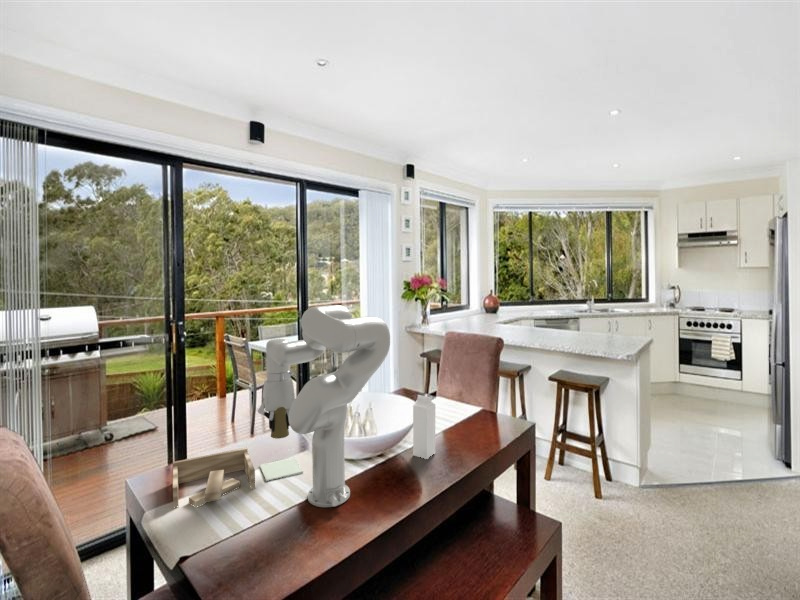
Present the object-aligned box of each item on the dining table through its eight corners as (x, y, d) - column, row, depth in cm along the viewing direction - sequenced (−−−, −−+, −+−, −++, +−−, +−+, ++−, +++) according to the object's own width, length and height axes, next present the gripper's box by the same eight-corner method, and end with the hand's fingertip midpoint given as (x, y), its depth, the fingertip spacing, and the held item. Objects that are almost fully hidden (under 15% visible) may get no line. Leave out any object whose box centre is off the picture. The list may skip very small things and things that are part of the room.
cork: (283, 439, 136) (283, 406, 135) (267, 437, 137) (266, 405, 137) (292, 432, 142) (291, 401, 141) (276, 430, 143) (275, 400, 143)
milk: (422, 449, 156) (422, 392, 154) (435, 454, 152) (435, 395, 151) (412, 455, 151) (412, 396, 149) (426, 459, 147) (426, 399, 146)
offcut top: (224, 477, 132) (223, 469, 132) (220, 499, 119) (219, 491, 119) (210, 479, 131) (210, 471, 131) (205, 502, 117) (204, 493, 117)
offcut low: (240, 489, 129) (239, 481, 129) (196, 510, 118) (195, 501, 118) (232, 485, 132) (232, 477, 131) (189, 505, 120) (188, 497, 120)
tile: (303, 473, 138) (303, 471, 138) (266, 481, 132) (266, 480, 132) (294, 458, 149) (294, 457, 149) (259, 466, 143) (259, 464, 143)
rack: (255, 488, 128) (254, 466, 128) (173, 508, 118) (172, 484, 117) (247, 466, 143) (246, 447, 142) (174, 483, 132) (173, 461, 131)
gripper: (300, 370, 145) (301, 421, 147) (250, 376, 138) (252, 429, 139) (306, 375, 139) (307, 428, 140) (254, 382, 131) (255, 437, 132)
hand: (279, 428), depth 140 cm, fingers closed on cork, 4 cm apart
